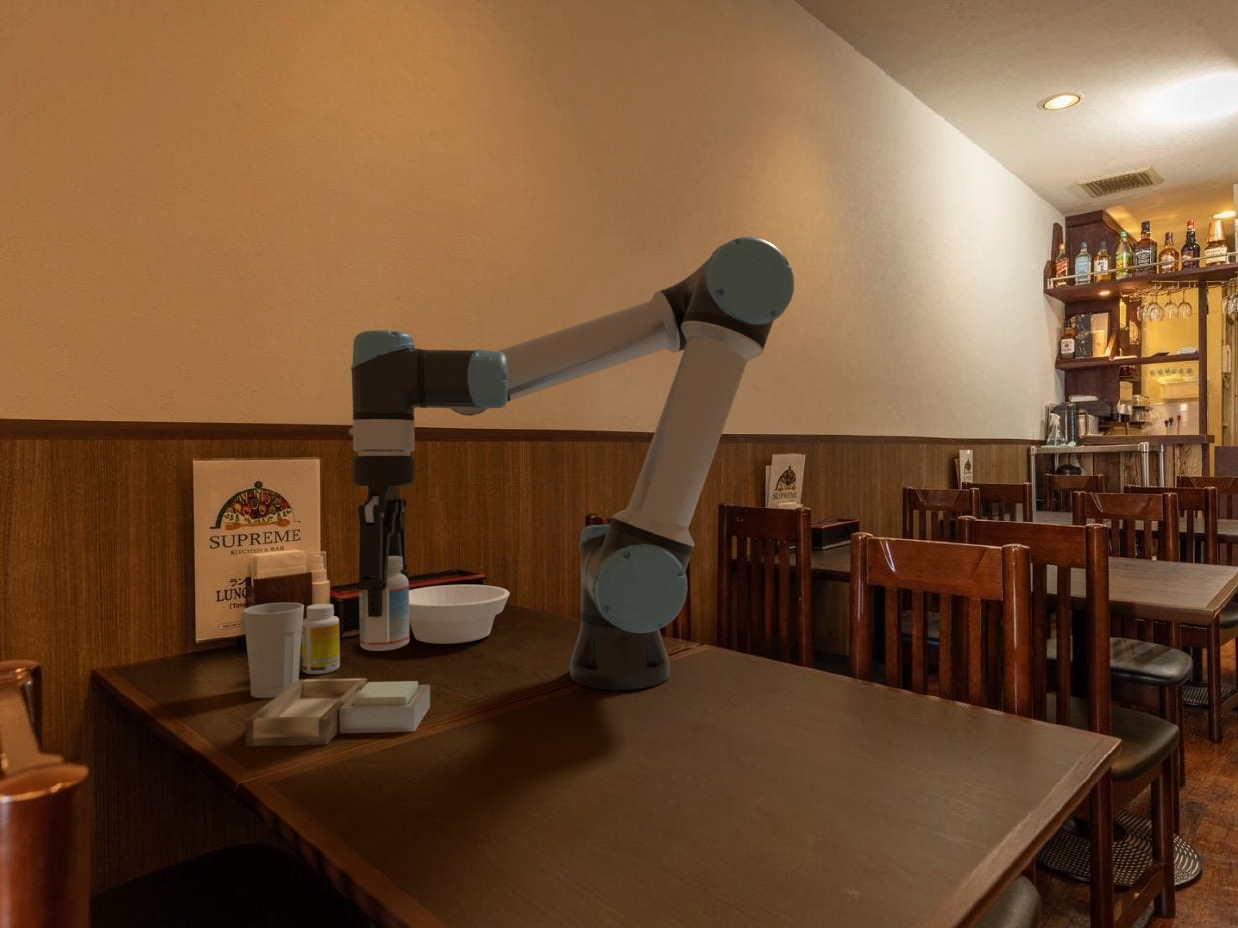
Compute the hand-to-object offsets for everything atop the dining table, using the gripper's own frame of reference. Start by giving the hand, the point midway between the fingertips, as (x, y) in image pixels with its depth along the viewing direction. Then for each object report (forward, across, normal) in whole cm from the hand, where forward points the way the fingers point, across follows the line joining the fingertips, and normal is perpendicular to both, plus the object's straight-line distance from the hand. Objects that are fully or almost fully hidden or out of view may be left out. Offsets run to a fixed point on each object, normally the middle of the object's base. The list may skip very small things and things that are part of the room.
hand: (385, 634), depth 95 cm
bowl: (+11, -43, +1) cm, 44 cm away
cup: (+11, -13, -19) cm, 26 cm away
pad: (+8, 0, 0) cm, 8 cm away
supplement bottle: (+11, -23, -16) cm, 30 cm away
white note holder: (+11, 0, 0) cm, 11 cm away
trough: (+11, 0, -9) cm, 14 cm away
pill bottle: (+2, 0, 0) cm, 2 cm away
